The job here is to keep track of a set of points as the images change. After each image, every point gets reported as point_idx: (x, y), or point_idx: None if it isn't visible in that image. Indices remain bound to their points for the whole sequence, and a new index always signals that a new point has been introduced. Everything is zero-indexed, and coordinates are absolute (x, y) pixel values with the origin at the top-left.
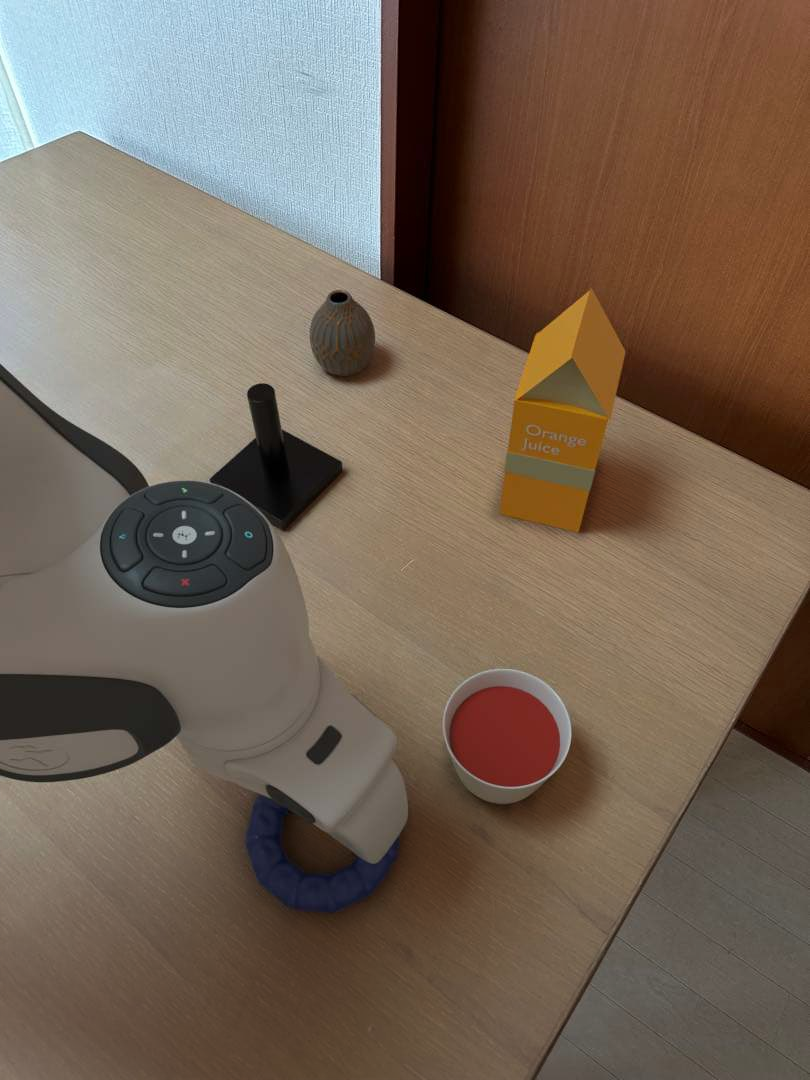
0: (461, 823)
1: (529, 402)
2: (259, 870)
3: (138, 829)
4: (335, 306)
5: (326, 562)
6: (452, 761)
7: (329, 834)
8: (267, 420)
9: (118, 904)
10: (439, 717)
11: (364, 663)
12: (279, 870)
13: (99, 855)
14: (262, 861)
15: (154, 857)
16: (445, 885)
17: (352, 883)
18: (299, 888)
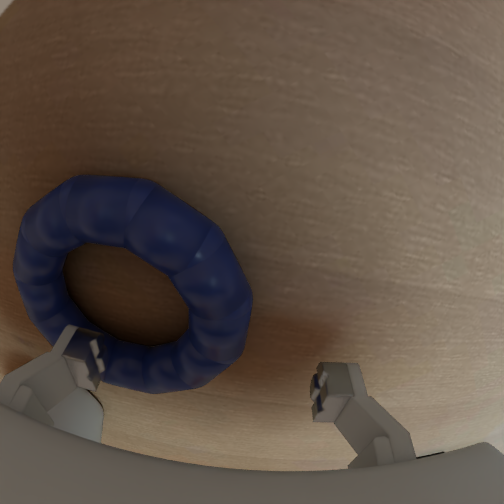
0: (39, 345)
1: None
2: (143, 209)
3: (436, 161)
4: None
5: (327, 465)
6: (60, 416)
7: (73, 327)
8: None
9: (397, 28)
10: (133, 415)
11: (237, 435)
12: (106, 231)
13: (471, 99)
14: (147, 228)
15: (386, 126)
16: (3, 289)
17: (20, 267)
18: (59, 222)
